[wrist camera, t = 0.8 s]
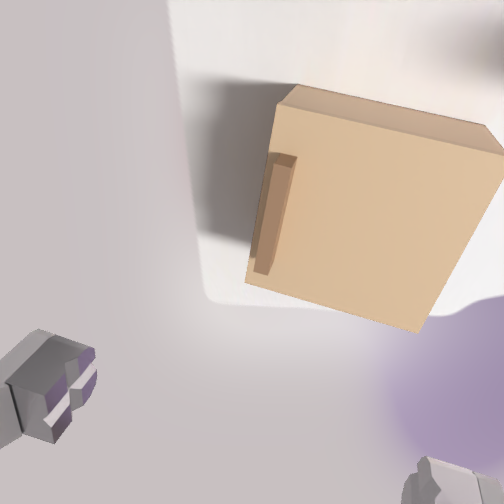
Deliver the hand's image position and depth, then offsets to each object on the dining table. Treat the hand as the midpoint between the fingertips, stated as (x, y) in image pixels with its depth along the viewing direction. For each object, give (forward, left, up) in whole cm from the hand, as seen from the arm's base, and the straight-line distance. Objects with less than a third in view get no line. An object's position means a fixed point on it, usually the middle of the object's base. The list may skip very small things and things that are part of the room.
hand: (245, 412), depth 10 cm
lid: (+11, +4, -31) cm, 33 cm away
